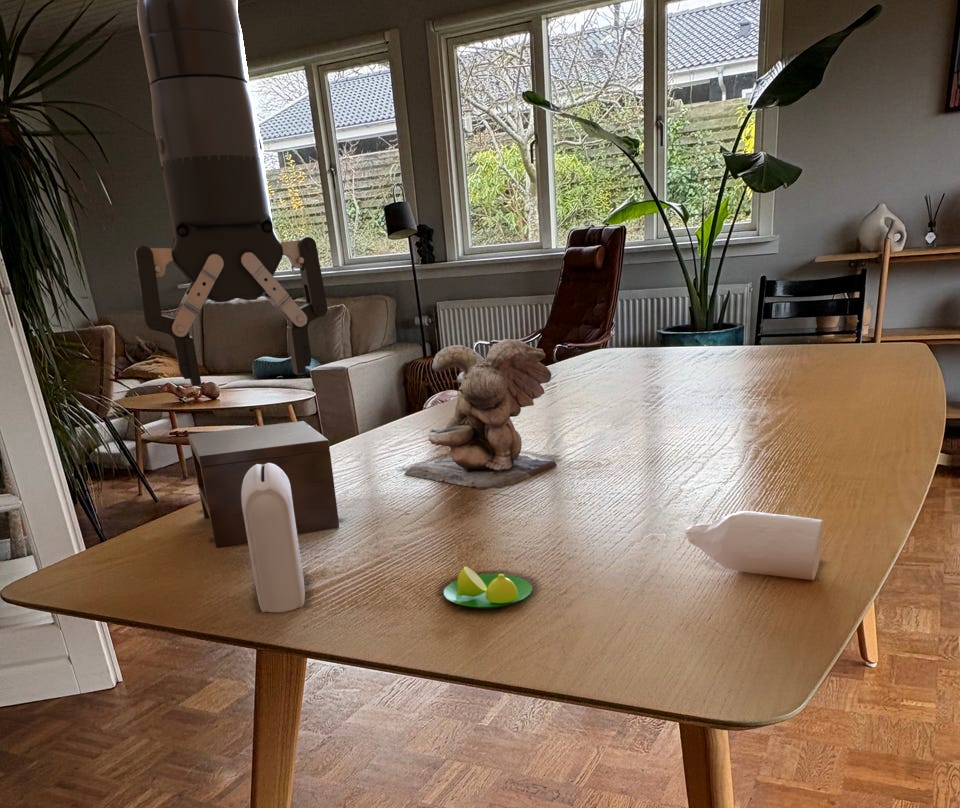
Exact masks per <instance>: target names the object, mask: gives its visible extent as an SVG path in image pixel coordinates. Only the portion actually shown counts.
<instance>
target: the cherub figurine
mask: <svg viewBox="0 0 960 808" xmlns="http://www.w3.org/2000/svg"><path fill="white" fill-rule="evenodd" d="M544 359H546V353H545V351H544V350H543V349H542V348H536V347H532V346H530V345H528V344H526V342H525V341H522V340H518V339H510V338H505V339H502V340H501V341H498V342H497V343H494V344H492V346H491V347H490V349H489V350H488V352H487V355H486V358H484V357H483V356H482V355H481V354H480V353H478V352H477V351H475V350H474V349H472V348H470V347H467V346H465V345H463V344H454V345H450V346H446V347H444V348H442V349H440V351H438V352H437V353H435V356H434V358H433V362H432V365H431V369H432V370H433V371H435V372H437V373H439V372H444V371H446V370H448V369H451V368H457V369H458V368H459V369H460V370H461V372H463V373H464V375H465V376H464V377H463V378H462V381H461V384H460V386H459V388H458V391H459V393H458V394H457V398H456V399H457V400H456V404H455V406H454V413H453V416H452V417H450V418H449V420H448V421H447V423H446V424H445V426H444V427H443V428H439V429H434V428H431V429H430V430H429V433H428V437H427V440H428V442H430V444H431V445H435V446H442V447H449V448H450V450H449V453H450V457H448V458H444V459H439V460H435V461H434V462H430V463H429V462H428V463H427V462H426V463H418V464H415V465H413V466H410V468H409V469H407V470H406V471H405V472H404V473H403V476H404V475H405V476H409V477H416V478H422V479H428V480H432V481H433V480H434V481H436V482H444V483H447V484H453V485H457V486H461V487H469V489H471V488H474V489H475V490H486V489H492V488H496V489H497V488H498V489H503V487H507V486H511V485H515V484H517V483H520V482H522V481H524V480H526V479H529V478H531V477H533V476H536V475H538V474H541V473H543V472H545V471H548V470H550V469H552V468H554V467H557V463H556V461H555V460H542V459H538V458H535V459H534V458H532V457H530V456H528V455H523V454H521V451H522V445H523V441H522V436H521V435H520V433H519V432H518V431H517V429H516V428H515V425H514V423H513V421H512V419H511V418H516V417H518V416H519V415H520V414H521V411H522V408H526V407H532V406H535V403H534V400H535V399H539V398H541V397H542V396H543V395H544V394H545V389H544V387H543V386H542V385H543V384H548V383H550V381H551V380H552V375H553V374H552V372H551V370H550V368H549V367H548V366H546V365H544V364H543V363H541V362H540V361H542V360H544Z"/></svg>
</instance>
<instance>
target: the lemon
mask: <svg viewBox="0 0 960 808" xmlns="http://www.w3.org/2000/svg"><path fill="white" fill-rule="evenodd" d="M532 591H533V587H532V585H531V583H530V582H528V581H527V580H525V579H524V578H520V577H518V576H513V575H508V574H504V573H499V574H497V573H488V574H487V573H486V574H477V573H476V572H475V571H474V570H473V569H471V568H470V567H468V566H464V567H463V568H462V569H461V570H460V572H459V574H458V577H457V580H455V581H452V582H450V583H449V584H448V585H447V586H446V587H445V588H443V596H444V597H445V598H446V599H447V600H448V601H450V602H452V603H454V604H457V605H460V606H464V607H466V608H469V609H470V608H471V609H478V610H490V609H499V608H504V607H508V606H511V605H513V604H515V603H517V602H520V601H522V600H524V599H526V598H527V597H528V596H529V595H531V593H532Z"/></svg>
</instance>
